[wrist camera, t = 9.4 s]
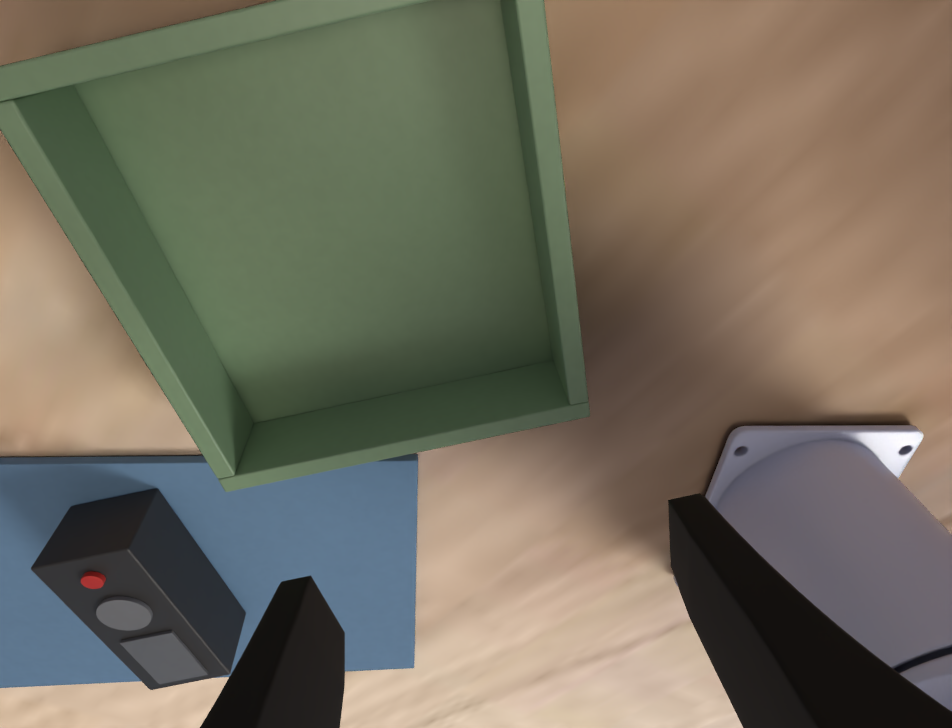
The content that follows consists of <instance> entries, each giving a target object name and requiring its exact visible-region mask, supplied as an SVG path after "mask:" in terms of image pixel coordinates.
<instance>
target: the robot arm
mask: <svg viewBox="0 0 952 728" xmlns="http://www.w3.org/2000/svg"><path fill="white" fill-rule="evenodd" d="M922 439H923V433H922V432H921V431H920V430H919V429H918V428H917V427H916V426H912V425H845V426H741V427H738V428H736V429H734V430H733V431H732V432H731V433H730V435H729V437H728V439H727V442H726V444H725V447H724V449H723V452H722V455H721V457H720V460H719V462H718V465H717V467H716V470H715V472H714V475H713V478H712V480H711V483H710V485H709V488H708V490H707V493H706V495H705V496H703V495H701V494H695V495H690V496H686V497H681V498H676V499H671V500H668V505H669V531H670V557H671V568H672V570H673V573H674V580H675V583H676V585H677V586H678V587H679V590H680V593H681V595H682V598H683V601H684V603H685V606H686V609H687V611H688V614H689V617H690V619H691V621H692V623H693V625H694V627H695V629H696V631H697V634H698V636H699V638H700V640H701V642H702V644H703V646H704V648H705V650H706V652H707V654H708V656H709V658H710V660H711V662H712V664H713V666H714V669H715V671H716V673H717V675H718V677H719V679H720V681H721V683H722V685H723V687H724V689H725V691H726V693H727V695H728V697H729V699H730V701H731V703H732V705H733V707H734V709H735V711H736V713H737V715H738V718H739V720H740V722H741V724H742V726H743V728H952V535H951V534H950V532H949V531H948V530H947V529H946V528H945V527H944V526H943V525H942V524H941V523H940V522H939V521H938V520H937V519H936V518H935V517H934V516H933V515H932V514H931V513H930V512H929V511H928V510H927V508H926V507H925V506H924V505H923V504H922V503H921V502H920V501H919V500H918V499H917V498H916V497H915V496H914V495H913V494H912V493H911V492H910V491H909V490H908V489H907V488H906V487H905V486H904V484H903V483H902V482H901V481H900V480H899V479H898V478H899V476H900V475H901V473H902V471H903V470H904V468H905V467H906V465H907V463H908V462H909V460H910V459H911V457H912V455H913V454H914V452H915V451H916V449H917V447H918V446H919V444H920V443H921V441H922ZM739 447H741V448H739ZM737 448H739V449H737ZM344 677H345V632H344V630H343V629H342V627H341V625H340V624H339V622H338V620H337V619H336V617H335V615H334V614H333V612H332V610H331V609H330V607H329V605H328V604H327V602H326V600H325V598H324V597H323V595H322V593H321V592H320V590H319V588H318V587H317V585H316V583H315V582H314V580H313V578H312V577H311V575H310V576H306V577H301V578H296V579H291V580H287V581H282V582H281V583H280V585H279V586H278V588H277V590H276V592H275V594H274V595H273V597H272V599H271V601H270V603H269V605H268V607H267V609H266V611H265V613H264V614H263V616H262V618H261V620H260V622H259V624H258V626H257V628H256V630H255V632H254V633H253V635H252V637H251V639H250V641H249V643H248V645H247V647H246V648H245V650H244V652H243V654H242V656H241V658H240V659H239V661H238V663H237V665H236V667H235V668H234V670H233V672H232V674H231V676H230V677H229V679H228V681H227V683H226V684H225V686H224V688H223V690H222V692H221V693H220V695H219V697H218V699H217V700H216V702H215V704H214V706H213V707H212V709H211V711H210V712H209V714H208V715H207V717H206V719H205V720H204V722H203V724H202V725H201V727H200V728H339V727H340V719H341V711H342V702H343V694H344Z"/></svg>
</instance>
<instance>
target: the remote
mask: <svg viewBox="0 0 952 728" xmlns="http://www.w3.org/2000/svg"><path fill="white" fill-rule="evenodd" d="M31 570H32V571H33V572H34V573H35V574H36V575H37V576H38V577H39V578H40V579H41V580H42V581H43V582H44V583H45V584H46V585H47V586H48V587H49V588H50V589H51V590H52V591H53V592H54V593H55V594H56V595H57V596H58V597H59V598H60V600H61V601H62V602H63V603H64V604H65V605H66V606H67V607H68V608H69V609H70V610H71V611H72V612H73V613H74V614H75V615H76V616H77V617H78V618H79V619H80V620H81V621H82V622H83V623H84V624H85V625H86V626H87V627H88V628H89V629H90V630H91V631H92V632H93V633H94V634H95V635H96V636H97V637H98V638H99V639H100V640H101V641H102V642H103V643H104V644H105V645H106V646H107V647H108V648H109V649H110V650H111V651H112V652H113V653H114V654H115V655H116V656H117V657H118V658H119V659H120V660H121V661H122V662H123V663H124V664H125V665H126V666H127V667H128V668H129V669H130V670H131V671H132V672H133V673H134V674H135V675H136V676H137V677H138V678H139V679H140V680H141V681H142V682H143V683H144V684H145V685H146V686H147V687H148V688H149V689H150V690H153V689H158V688H163V687H168V686H173V685H179V684H184V683H189V682H194V681H199V680H204V679H209V678H214V677H219V676H224V675H229V674H230V673H231V669H232V665H233V662H234V658H235V654H236V650H237V646H238V643H239V639H240V635H241V631H242V627H243V623H244V620H245V616H246V612H245V610H244V609H243V608H242V606H241V605H240V603H239V602H238V600H237V599H236V598H235V596H234V595H233V593H232V592H231V591H230V589H229V588H228V586H227V585H226V584H225V582H224V581H223V579H222V578H221V577H220V575H219V574H218V572H217V571H216V569H215V568H214V567H213V565H212V564H211V562H210V561H209V560H208V558H207V557H206V555H205V554H204V553H203V551H202V550H201V548H200V547H199V546H198V544H197V543H196V541H195V540H194V539H193V537H192V536H191V534H190V533H189V531H188V530H187V529H186V527H185V526H184V524H183V523H182V522H181V520H180V519H179V517H178V516H177V515H176V513H175V512H174V510H173V509H172V508H171V506H170V505H169V503H168V502H167V501H166V499H165V498H164V496H163V495H162V493H161V492H160V491H159V489H157V488H156V489H151V490H146V491H141V492H137V493H132V494H127V495H122V496H117V497H113V498H108V499H103V500H98V501H94V502H89V503H84V504H79V505H74V506H71V507H70V508H69V509H68V511H67V512H66V514H65V516H64V517H63V519H62V520H61V522H60V523H59V525H58V526H57V528H56V530H55V531H54V533H53V534H52V536H51V537H50V539H49V540H48V542H47V544H46V545H45V547H44V548H43V550H42V551H41V553H40V554H39V556H38V557H37V559H36V561H35V562H34V564H33V565H32V567H31Z"/></svg>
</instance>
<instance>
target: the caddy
mask: <svg viewBox="0 0 952 728" xmlns="http://www.w3.org/2000/svg"><path fill="white" fill-rule="evenodd" d="M0 130H1V131H2V133H3V135H4V136H5V138H6V139H7V141H8V143H9V144H10V146H11V147H12V149H13V151H14V152H15V154H16V155H17V157H18V159H19V160H20V162H21V164H22V165H23V167H24V168H25V170H26V172H27V173H28V175H29V176H30V178H31V180H32V181H33V183H34V184H35V186H36V188H37V189H38V191H39V192H40V194H41V196H42V197H43V199H44V201H45V202H46V204H47V205H48V207H49V209H50V210H51V212H52V213H53V215H54V217H55V218H56V220H57V221H58V223H59V225H60V226H61V228H62V229H63V231H64V233H65V234H66V236H67V238H68V239H69V241H70V242H71V244H72V246H73V247H74V249H75V250H76V252H77V254H78V255H79V257H80V258H81V260H82V262H83V263H84V265H85V267H86V268H87V270H88V271H89V273H90V275H91V276H92V278H93V279H94V281H95V283H96V284H97V286H98V287H99V289H100V291H101V292H102V294H103V295H104V297H105V299H106V300H107V302H108V304H109V305H110V307H111V308H112V310H113V312H114V313H115V315H116V316H117V318H118V320H119V321H120V323H121V324H122V326H123V328H124V329H125V331H126V332H127V334H128V336H129V337H130V339H131V341H132V342H133V344H134V345H135V347H136V349H137V350H138V352H139V353H140V355H141V357H142V358H143V360H144V361H145V363H146V365H147V366H148V368H149V369H150V371H151V373H152V374H153V376H154V378H155V379H156V381H157V382H158V384H159V386H160V387H161V389H162V390H163V392H164V394H165V395H166V397H167V398H168V400H169V402H170V403H171V405H172V406H173V408H174V410H175V411H176V413H177V415H178V416H179V418H180V419H181V421H182V423H183V424H184V426H185V427H186V429H187V431H188V432H189V434H190V435H191V437H192V439H193V440H194V442H195V443H196V445H197V447H198V448H199V450H200V452H201V453H202V455H203V456H204V458H205V460H206V461H207V463H208V464H209V466H210V468H211V469H212V471H213V472H214V474H215V476H216V477H217V478H218V481H219V482H220V484H221V486H222V487H223V489H224V490H225V492H230V491H235V490H239V489H244V488H249V487H254V486H259V485H263V484H268V483H273V482H278V481H283V480H288V479H292V478H297V477H302V476H307V475H312V474H316V473H321V472H326V471H331V470H336V469H340V468H345V467H350V466H355V465H360V464H364V463H369V462H374V461H379V460H384V459H388V458H393V457H398V456H403V455H408V454H412V453H417V452H422V451H427V450H432V449H436V448H441V447H446V446H451V445H456V444H460V443H465V442H470V441H475V440H480V439H484V438H489V437H494V436H499V435H504V434H508V433H513V432H518V431H523V430H528V429H532V428H537V427H542V426H547V425H552V424H556V423H561V422H566V421H571V420H576V419H580V418H585V417H589V416H590V409H589V402H588V391H587V382H586V373H585V364H584V355H583V346H582V337H581V328H580V319H579V310H578V301H577V292H576V283H575V274H574V265H573V256H572V247H571V238H570V229H569V220H568V211H567V202H566V193H565V184H564V175H563V166H562V157H561V149H560V140H559V131H558V122H557V113H556V104H555V95H554V86H553V77H552V68H551V59H550V50H549V41H548V32H547V23H546V14H545V5H544V0H275V1H271V2H267V3H263V4H258V5H254V6H250V7H246V8H242V9H237V10H233V11H229V12H225V13H221V14H216V15H212V16H208V17H204V18H200V19H195V20H191V21H187V22H183V23H179V24H174V25H170V26H166V27H162V28H158V29H153V30H149V31H145V32H141V33H136V34H132V35H128V36H124V37H120V38H115V39H111V40H107V41H103V42H99V43H94V44H90V45H86V46H82V47H78V48H73V49H69V50H65V51H61V52H57V53H52V54H48V55H44V56H40V57H36V58H31V59H27V60H23V61H19V62H15V63H10V64H6V65H2V66H0Z"/></svg>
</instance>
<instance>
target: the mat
mask: <svg viewBox="0 0 952 728" xmlns="http://www.w3.org/2000/svg"><path fill="white" fill-rule="evenodd" d="M417 484H418V455H417V454H408V455H403V456H398V457H393V458H388V459H384V460H379V461H374V462H369V463H364V464H360V465H355V466H350V467H345V468H340V469H336V470H331V471H326V472H321V473H316V474H312V475H307V476H302V477H297V478H292V479H288V480H283V481H278V482H273V483H268V484H263V485H259V486H254V487H249V488H244V489H239V490H235V491H230V492H225V490H224V489H223V487H222V486H221V484H220V482H219V481H218V478H217V477H216V476H215V474H214V472H213V471H212V469H211V468H210V466H209V464H208V463H207V461H206V460H205V458H204V456H124V457H4V458H0V688H9V687H29V686H50V685H71V684H92V683H113V682H134V681H141V680H140V679H139V678H138V677H137V676H136V675H135V674H134V673H133V672H132V671H131V670H130V669H129V668H128V667H127V666H126V665H125V664H124V663H123V662H122V661H121V660H120V659H119V658H118V657H117V656H116V655H115V654H114V653H113V652H112V651H111V650H110V649H109V648H108V647H107V646H106V645H105V644H104V643H103V642H102V641H101V640H100V639H99V638H98V637H97V636H96V635H95V634H94V633H93V632H92V631H91V630H90V629H89V628H88V627H87V626H86V625H85V624H84V623H83V622H82V621H81V620H80V619H79V618H78V617H77V616H76V615H75V614H74V613H73V612H72V611H71V610H70V609H69V608H68V607H67V606H66V605H65V604H64V603H63V602H62V601H61V600H60V598H59V597H58V596H57V595H56V594H55V593H54V592H53V591H52V590H51V589H50V588H49V587H48V586H47V585H46V584H45V583H44V582H43V581H42V580H41V579H40V578H39V577H38V576H37V575H36V574H35V573H34V572H33V571H32V570H31V567H32V565H33V564H34V562H35V561H36V559H37V557H38V556H39V554H40V553H41V551H42V550H43V548H44V547H45V545H46V544H47V542H48V540H49V539H50V537H51V536H52V534H53V533H54V531H55V530H56V528H57V526H58V525H59V523H60V522H61V520H62V519H63V517H64V516H65V514H66V512H67V511H68V509H69V508H70V507H71V506H74V505H79V504H84V503H89V502H94V501H98V500H103V499H108V498H113V497H117V496H122V495H127V494H132V493H137V492H141V491H146V490H151V489H156V488H157V489H159V491H160V492H161V493H162V495H163V496H164V498H165V499H166V501H167V502H168V503H169V505H170V506H171V508H172V509H173V510H174V512H175V513H176V515H177V516H178V517H179V519H180V520H181V522H182V523H183V524H184V526H185V527H186V529H187V530H188V531H189V533H190V534H191V536H192V537H193V539H194V540H195V541H196V543H197V544H198V546H199V547H200V548H201V550H202V551H203V553H204V554H205V555H206V557H207V558H208V560H209V561H210V562H211V564H212V565H213V567H214V568H215V569H216V571H217V572H218V574H219V575H220V577H221V578H222V579H223V581H224V582H225V584H226V585H227V586H228V588H229V589H230V591H231V592H232V593H233V595H234V596H235V598H236V599H237V600H238V602H239V603H240V605H241V606H242V608H243V609H244V610H245V612H246V616H245V620H244V623H243V627H242V631H241V635H240V639H239V643H238V646H237V650H236V654H235V658H234V662H233V665H232V669H231V673H230V674H229V675H224V676H219V677H230V676H231V674H232V672H233V670H234V668H235V667H236V665H237V663H238V661H239V659H240V658H241V656H242V654H243V652H244V650H245V648H246V647H247V645H248V643H249V641H250V639H251V637H252V635H253V633H254V632H255V630H256V628H257V626H258V624H259V622H260V620H261V618H262V616H263V614H264V613H265V611H266V609H267V607H268V605H269V603H270V601H271V599H272V597H273V595H274V594H275V592H276V590H277V588H278V586H279V585H280V583H281V582H282V581H287V580H291V579H296V578H301V577H306V576H310V575H311V577H312V578H313V580H314V582H315V583H316V585H317V587H318V588H319V590H320V592H321V593H322V595H323V597H324V598H325V600H326V602H327V604H328V605H329V607H330V609H331V610H332V612H333V614H334V615H335V617H336V619H337V620H338V622H339V624H340V625H341V627H342V629H343V630H344V632H345V671H363V670H383V669H404V668H414V647H415V593H416V539H417ZM214 678H217V677H214Z"/></svg>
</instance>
